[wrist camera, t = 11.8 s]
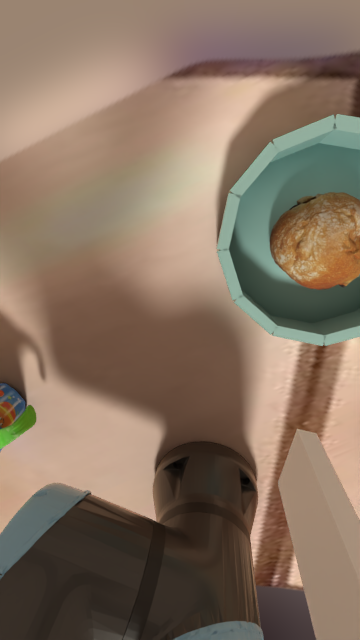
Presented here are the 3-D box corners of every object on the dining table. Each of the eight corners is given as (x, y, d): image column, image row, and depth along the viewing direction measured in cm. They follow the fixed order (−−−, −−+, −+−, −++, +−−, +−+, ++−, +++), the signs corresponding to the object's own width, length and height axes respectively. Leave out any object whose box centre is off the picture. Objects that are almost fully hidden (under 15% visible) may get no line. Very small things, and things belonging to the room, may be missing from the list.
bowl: (374, 344, 37) (397, 361, 32) (203, 309, 38) (201, 320, 34) (450, 153, 31) (493, 139, 26) (243, 118, 32) (248, 99, 27)
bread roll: (330, 192, 36) (337, 152, 28) (391, 258, 33) (417, 233, 26) (258, 245, 38) (248, 221, 31) (309, 311, 36) (312, 302, 28)
